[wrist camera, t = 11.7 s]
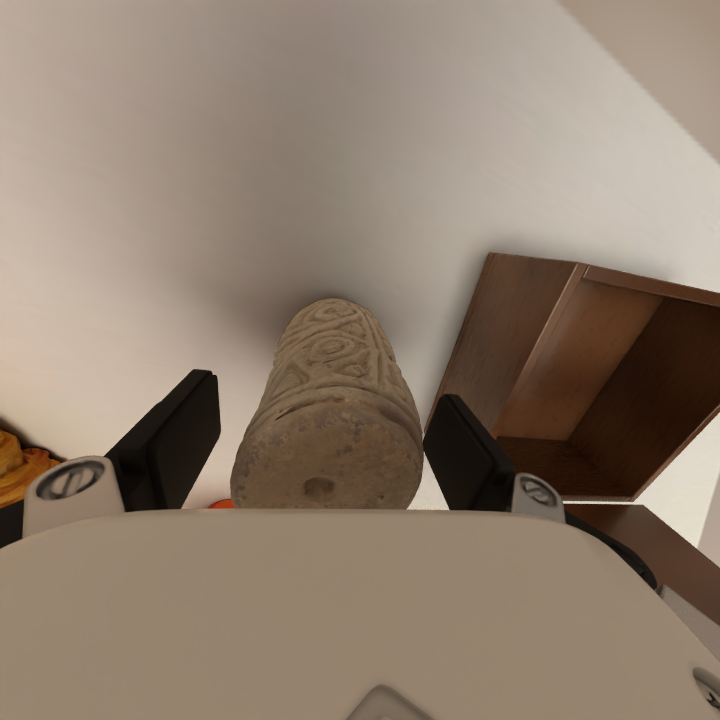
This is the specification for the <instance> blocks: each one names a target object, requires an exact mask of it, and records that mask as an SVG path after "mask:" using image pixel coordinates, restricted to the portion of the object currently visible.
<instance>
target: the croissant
mask: <svg viewBox="0 0 720 720" xmlns="http://www.w3.org/2000/svg"><path fill="white" fill-rule="evenodd" d="M20 447H21V445H20V442H19V440H18V439H17V437H16V436H15V435H12V434H10V433H8V432H5V431H3V430H2V429H0V508H3V507H5V506H8V505H10V504H13V503H15V502H17V501H20V500H22V499H24V497H25V493H26V490H27V488H28V487H29V485H30V484H31V483H32V482H33V481H34V480H35V479H36V478H37V477H39V476H40V475H41V474H43V473H44V472H45V471H47V470H49V469H51V468H53V467H54V466H56V465H58V464H60V462H59V461H55V460H53V459H50V458H49V457H48V455H49V452H48V451H45V450H40V449H38V448H30V449H25V450H23V451H22V450H21V448H20Z"/></svg>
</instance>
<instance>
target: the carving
mask: <svg viewBox="0 0 720 720" xmlns="http://www.w3.org/2000/svg"><path fill="white" fill-rule="evenodd" d="M274 356H275V360H274V362H273V366H274V368H273V369H272V370H271V373H270V375H269V378H268V381H267V385H266V388H265V391H264V394H263V396H262V399H261V402H260V404H259V407H258V409H257V411H256V412H255V414H254V416H253V418H252V420H251V422H250V424H249V425H248V427H247V429H246V432H245V434H244V438H243V441H242V442H241V444H240V446H239V448H238V451H237V455H236V459H235V463H234V466H233V470H232V475H231V479H230V489H231V498H232V502H233V504H234V506H235V507H236V508H237V509H400V510H406V509H407V508H408V506H409V505H410V503H411V502H412V500H413V498H414V497H415V495H416V492H417V490H418V488H419V485H420V482H421V478H422V470H423V462H424V448H423V443H422V433H423V432H422V429H421V424H420V419H419V414H418V411H417V409H416V405H415V402H414V399H413V396H412V394H411V392H410V389H409V387H408V386H407V383H406V381H405V379H404V378H403V377H402V375H401V370H400V368H399V367H398V365H397V364H396V360H395V356H394V353H393V350H392V347H391V345H390V343H389V341H388V339H387V337H386V335H385V333H384V331H383V330H382V328H381V326H380V325H379V323H378V321H377V320H376V319H375V317H374V315H373V314H372V313H371V312H370V311H368V310H367V309H365V308H363V307H361V306H359V305H357V304H354V303H352V302H349V301H346V300H343V299H336V298H330V299H323V300H320V301H317V302H315V303H313V304H311V305H309V306H307V307H306V308H304V309H303V310H301V311H300V312H299V313H297V314H296V315H295V317H294V318H293V319H292V320H291V322H290V324H289V325H288V327H287V328H286V330H285V332H284V333H283V335H282V337H281V339H280V341H279V344H278V348H277V349H276V351H275V355H274Z"/></svg>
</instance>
